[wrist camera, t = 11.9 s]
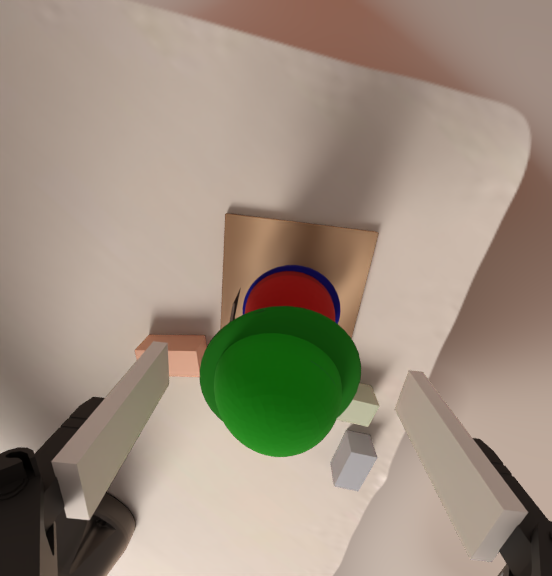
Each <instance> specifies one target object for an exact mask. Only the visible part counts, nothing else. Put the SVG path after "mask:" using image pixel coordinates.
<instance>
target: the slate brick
mask: <svg viewBox="0 0 552 576" xmlns="http://www.w3.org/2000/svg"><path fill="white" fill-rule="evenodd" d="M376 459H377V455H376V452H375V449H374V446H373V443H372V440H371V436H370V435H367V434H363V433H358V432H354V431H349V430H346V431H345V433H344V435H343V437H342V439H341V442H340V444H339V446H338V448H337V450H336V452H335V454H334V456H333V458H332V460H331V470H332V477H333V483H334V486H335V487H340V488H345V489H349V490H354V491H359V489H360V487H361V486H362V484H363V482H364V480H365V479H366V477H367V475H368V473H369V472H370V470H371V468H372V466H373V465H374V463H375V461H376Z"/></svg>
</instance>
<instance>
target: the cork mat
mask: <svg viewBox="0 0 552 576" xmlns="http://www.w3.org/2000/svg"><path fill="white" fill-rule="evenodd" d="M378 234H379V233H378V232H374V231H366V230H358V229H350V228H342V227H334V226H326V225H318V224H310V223H302V222H294V221H286V220H278V219H270V218H262V217H254V216H246V215H238V214H229V213H226V214H225V233H224V257H223V281H222V306H221V329H222V328H223V327H224V326H225V325H227V324H228V323H229V322H230V317H231V311H232V306H233V303H234V301H235V298H236V296H237V294H238V292H239V290H240V294H239V299H238V304H237V309H236V314H235V319H236V318H238V317H240V316H242V315H243V310H242V308H243V302H244V299H245V296H246V293H247V291H248V289H249V288H250V286H251V285H252V283H253V282H254V281H255V280H256V279H257V278H258V277H260V276H261V275H262V274H263V273H265V272H267V271H269V270H271V269H273V268H276V267H280V266H285V265H300V266H305V267H309V268H311V269H314V270H316V271H318V272H319V273H321V274H322V275H324V276H325V277H326V278H327V279H328V280H329V281H330V282H331V284H332V285H333V286H334V288H335V290H336V292H337V294H338V297H339V301H340V310H341V312H340V319H339V322H338V325H339V326H340V327H342V328H343V329H344V330H345V331H346V333H347V334H348V335H349V336H350V337H351V338H352V334H353V330H354V326H355V322H356V318H357V315H358V311H359V307H360V303H361V299H362V295H363V291H364V288H365V284H366V280H367V276H368V272H369V268H370V264H371V261H372V257H373V253H374V249H375V245H376V241H377V237H378ZM240 288H241V289H240Z"/></svg>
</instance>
